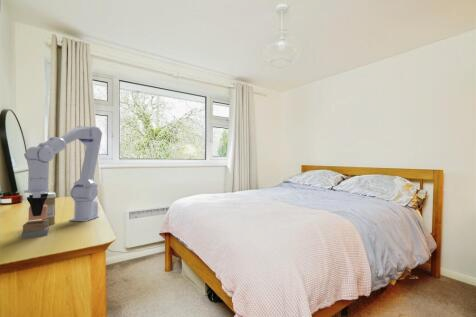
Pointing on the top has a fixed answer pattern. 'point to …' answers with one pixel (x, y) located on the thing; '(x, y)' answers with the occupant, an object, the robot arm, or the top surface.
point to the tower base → (35, 233)
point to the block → (43, 216)
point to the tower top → (35, 225)
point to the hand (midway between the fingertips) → (37, 214)
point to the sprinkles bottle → (50, 208)
